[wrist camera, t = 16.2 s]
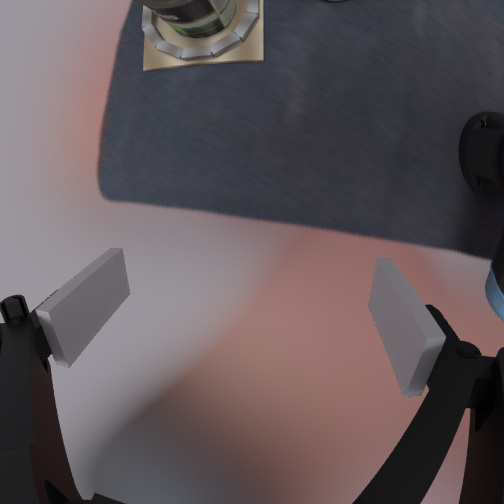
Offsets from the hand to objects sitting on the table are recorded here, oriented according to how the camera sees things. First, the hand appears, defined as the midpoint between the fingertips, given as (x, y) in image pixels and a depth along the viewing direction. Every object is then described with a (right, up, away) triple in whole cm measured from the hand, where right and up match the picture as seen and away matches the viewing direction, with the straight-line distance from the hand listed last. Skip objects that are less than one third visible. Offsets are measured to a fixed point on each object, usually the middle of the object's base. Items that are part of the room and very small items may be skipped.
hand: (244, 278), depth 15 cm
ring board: (-7, +37, +20) cm, 43 cm away
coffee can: (-7, +36, +19) cm, 42 cm away
